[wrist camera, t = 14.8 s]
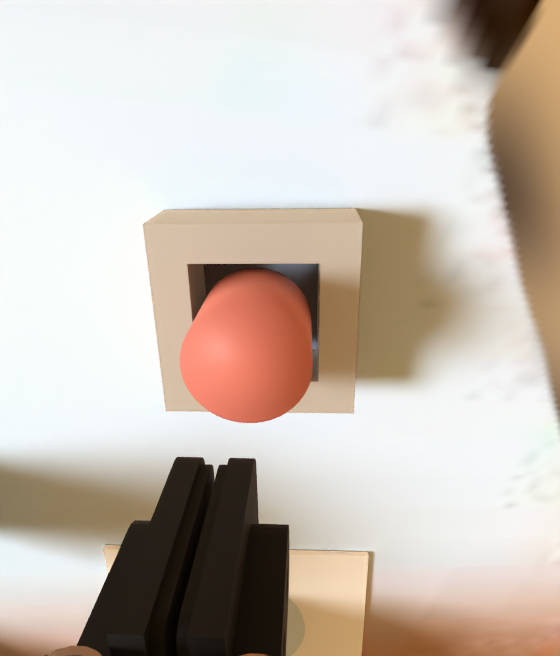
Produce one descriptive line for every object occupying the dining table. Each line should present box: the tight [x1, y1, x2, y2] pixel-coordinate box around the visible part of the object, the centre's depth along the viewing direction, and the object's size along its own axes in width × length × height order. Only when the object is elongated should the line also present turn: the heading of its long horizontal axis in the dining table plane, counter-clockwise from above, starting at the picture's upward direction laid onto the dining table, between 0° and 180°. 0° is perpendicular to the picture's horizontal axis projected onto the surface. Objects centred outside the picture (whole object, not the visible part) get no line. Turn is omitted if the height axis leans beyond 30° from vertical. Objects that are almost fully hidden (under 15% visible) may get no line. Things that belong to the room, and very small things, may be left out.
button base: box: [143, 208, 363, 413], centre depth 21 cm, size 8×8×3 cm
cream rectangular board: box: [103, 545, 369, 656], centre depth 31 cm, size 12×15×1 cm
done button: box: [180, 268, 313, 423], centre depth 18 cm, size 4×4×4 cm
